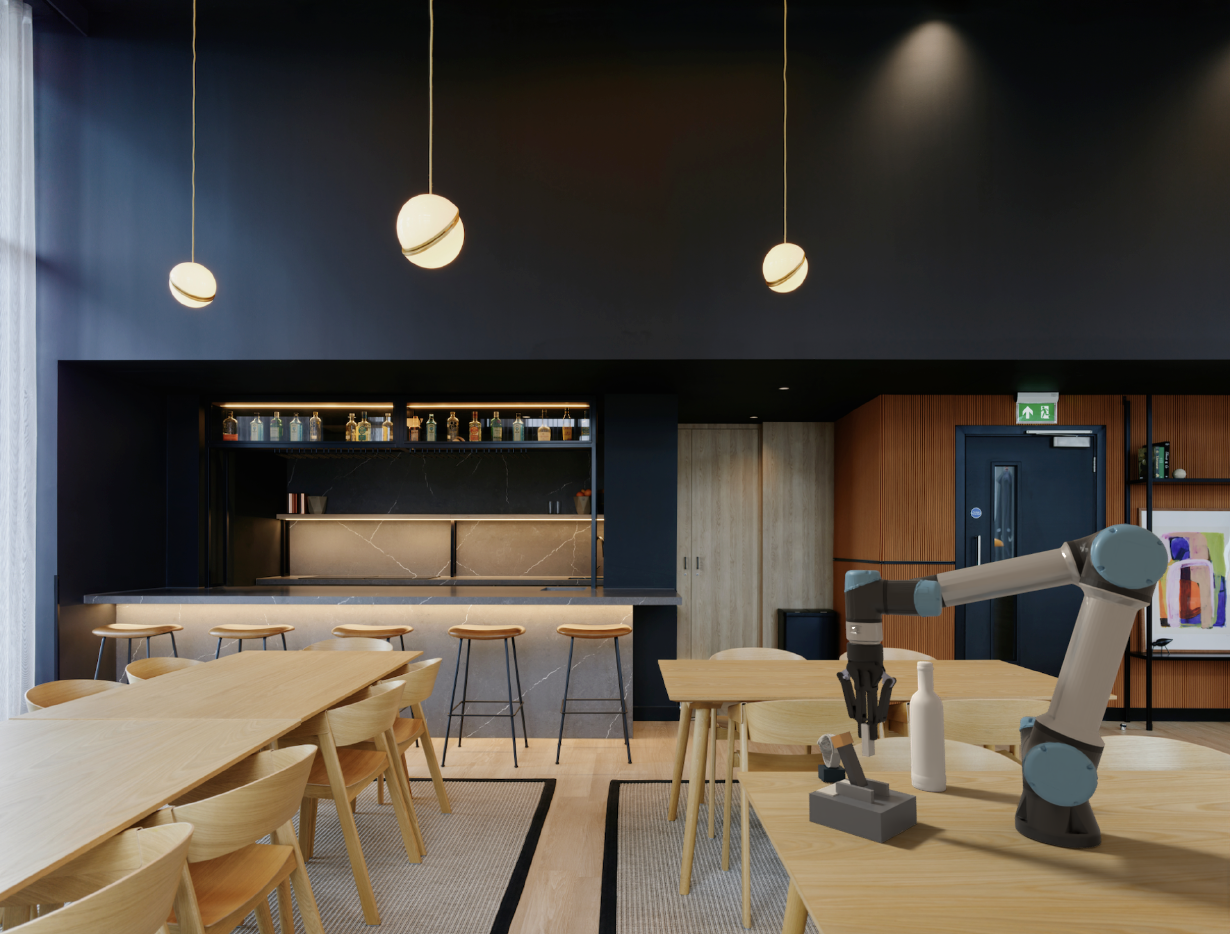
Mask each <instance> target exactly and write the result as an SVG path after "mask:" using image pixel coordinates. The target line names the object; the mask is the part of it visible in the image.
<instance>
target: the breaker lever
mask: <svg viewBox="0 0 1230 934" xmlns="http://www.w3.org/2000/svg"><path fill="white" fill-rule="evenodd" d="M835 735H836V736H833V737H831V740H832V743H833V745H834V748H837V750H838V753H839V755H840V758H841V760H840V762H842V767H843V768H844V769H845V772H846V776H847V779H849V782H850V784H851V785H855V786H859V787H865V786H867V785H868V783H867V780H866V778H867V777H866V776H865V773H864V770H863V767H862V766H861V763H860V760H859V758H858V755H857V752H856V750H855V748H854V745H853V744H854V742H855V741H854V739H853V737H852V734H851V731H846V732H843V733H840V734H835Z"/></svg>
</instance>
